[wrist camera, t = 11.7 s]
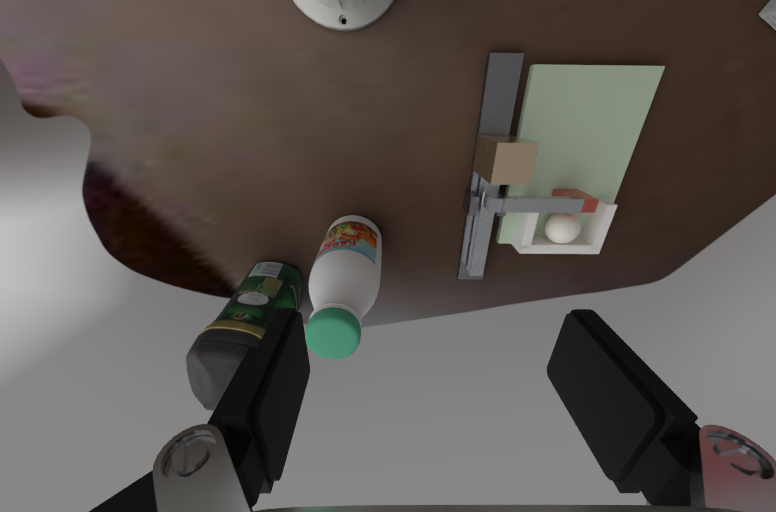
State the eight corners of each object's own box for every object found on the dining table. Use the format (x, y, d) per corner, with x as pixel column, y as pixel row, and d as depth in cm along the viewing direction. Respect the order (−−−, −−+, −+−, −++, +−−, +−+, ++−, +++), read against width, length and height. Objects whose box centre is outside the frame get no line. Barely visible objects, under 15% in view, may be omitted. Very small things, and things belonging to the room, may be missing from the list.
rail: (483, 53, 32) (492, 49, 29) (525, 54, 32) (539, 49, 29) (453, 276, 45) (458, 288, 42) (484, 276, 45) (490, 288, 42)
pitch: (530, 65, 32) (534, 64, 32) (657, 66, 33) (665, 66, 32) (495, 240, 42) (498, 243, 41) (593, 241, 42) (598, 244, 42)
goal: (521, 197, 38) (531, 204, 36) (601, 197, 38) (617, 205, 36) (510, 243, 41) (519, 253, 39) (585, 244, 42) (598, 254, 39)
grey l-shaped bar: (477, 134, 35) (497, 142, 28) (593, 136, 35) (638, 144, 29) (458, 268, 43) (471, 297, 37) (551, 269, 43) (579, 297, 37)
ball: (557, 237, 36) (541, 247, 40) (591, 237, 36) (571, 247, 40) (552, 206, 37) (536, 219, 41) (584, 206, 37) (566, 219, 41)
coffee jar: (303, 314, 48) (260, 425, 32) (253, 307, 48) (183, 417, 31) (305, 262, 44) (257, 361, 27) (250, 254, 43) (167, 350, 27)
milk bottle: (393, 239, 42) (398, 341, 24) (356, 272, 45) (336, 386, 27) (352, 201, 40) (325, 285, 22) (315, 239, 42) (265, 341, 24)
